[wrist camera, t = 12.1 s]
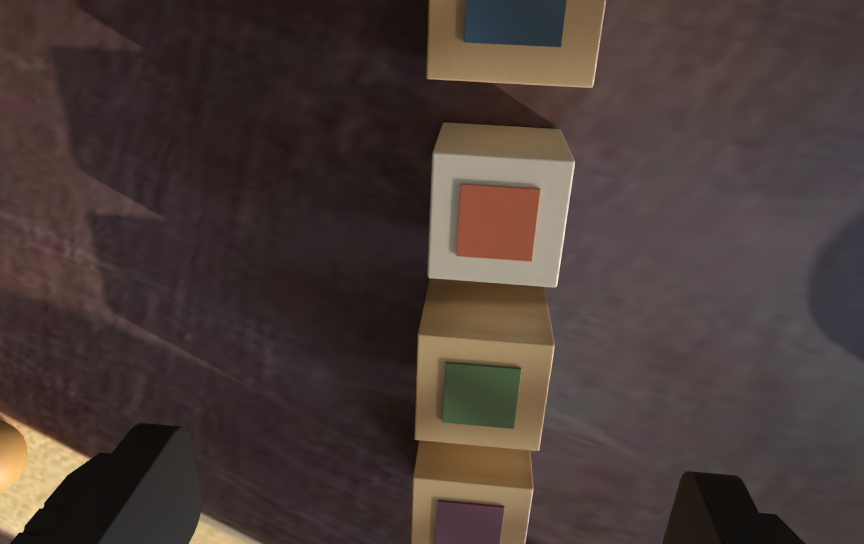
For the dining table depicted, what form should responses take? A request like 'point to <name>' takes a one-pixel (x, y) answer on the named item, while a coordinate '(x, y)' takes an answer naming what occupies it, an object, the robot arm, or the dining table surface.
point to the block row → (490, 297)
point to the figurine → (11, 454)
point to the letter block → (499, 204)
